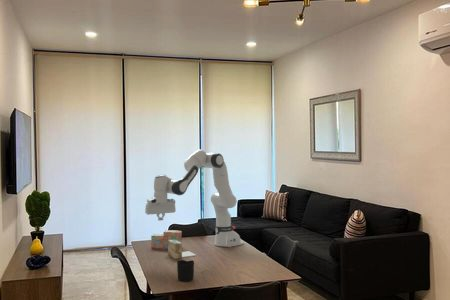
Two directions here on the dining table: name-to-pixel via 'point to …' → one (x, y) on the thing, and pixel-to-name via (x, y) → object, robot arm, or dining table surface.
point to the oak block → (175, 249)
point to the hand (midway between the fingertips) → (160, 220)
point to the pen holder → (185, 270)
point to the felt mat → (187, 254)
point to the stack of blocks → (165, 238)
